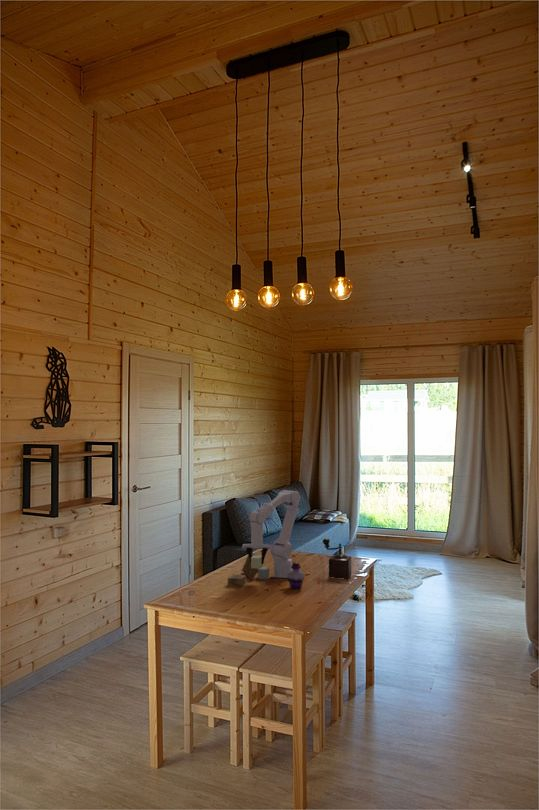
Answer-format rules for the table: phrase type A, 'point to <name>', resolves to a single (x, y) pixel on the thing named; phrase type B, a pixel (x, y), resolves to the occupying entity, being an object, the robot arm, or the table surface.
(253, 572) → the wooden block set
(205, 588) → the table surface
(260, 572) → the slate cube
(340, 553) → the manual coffee grinder
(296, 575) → the potion bottle
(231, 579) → the walnut base
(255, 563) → the sage cube
